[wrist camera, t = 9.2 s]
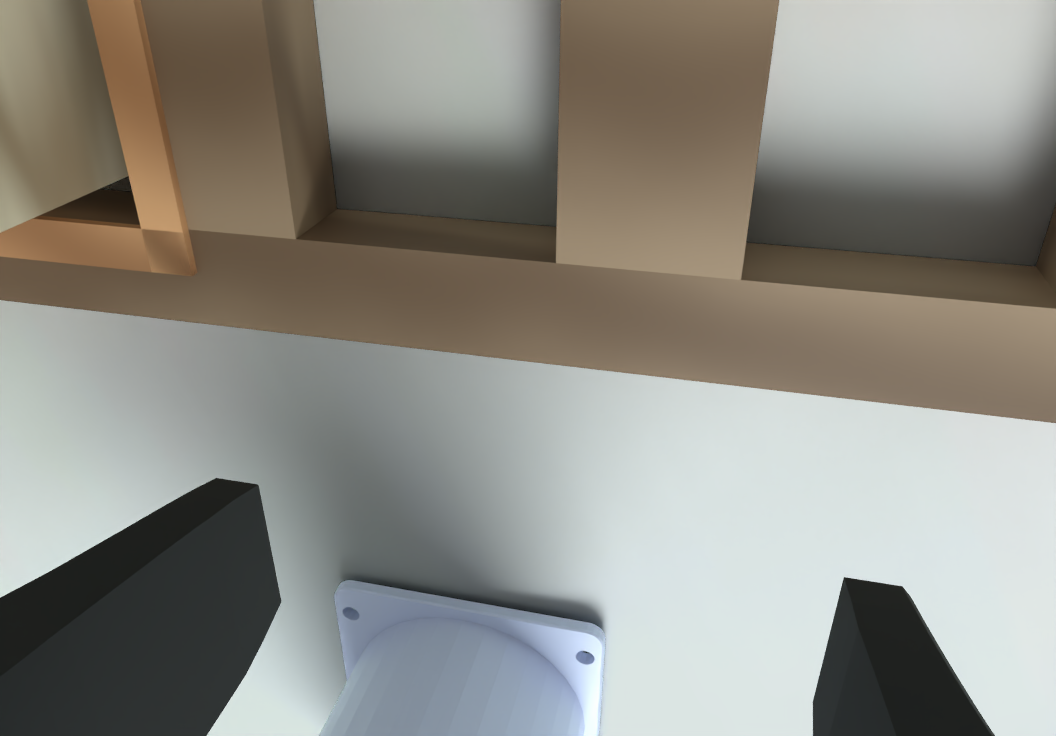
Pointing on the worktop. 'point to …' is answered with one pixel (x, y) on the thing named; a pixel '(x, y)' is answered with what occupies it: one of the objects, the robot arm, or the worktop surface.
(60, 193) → the peg
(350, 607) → the robot arm
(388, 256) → the brown slotted board
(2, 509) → the worktop surface
